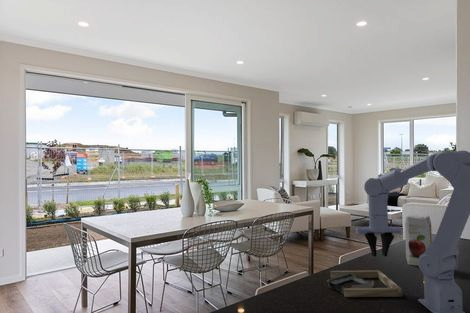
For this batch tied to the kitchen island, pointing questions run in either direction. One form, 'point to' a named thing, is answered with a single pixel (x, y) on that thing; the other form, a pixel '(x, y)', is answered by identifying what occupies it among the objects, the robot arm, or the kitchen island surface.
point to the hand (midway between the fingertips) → (379, 255)
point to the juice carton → (417, 237)
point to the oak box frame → (391, 291)
